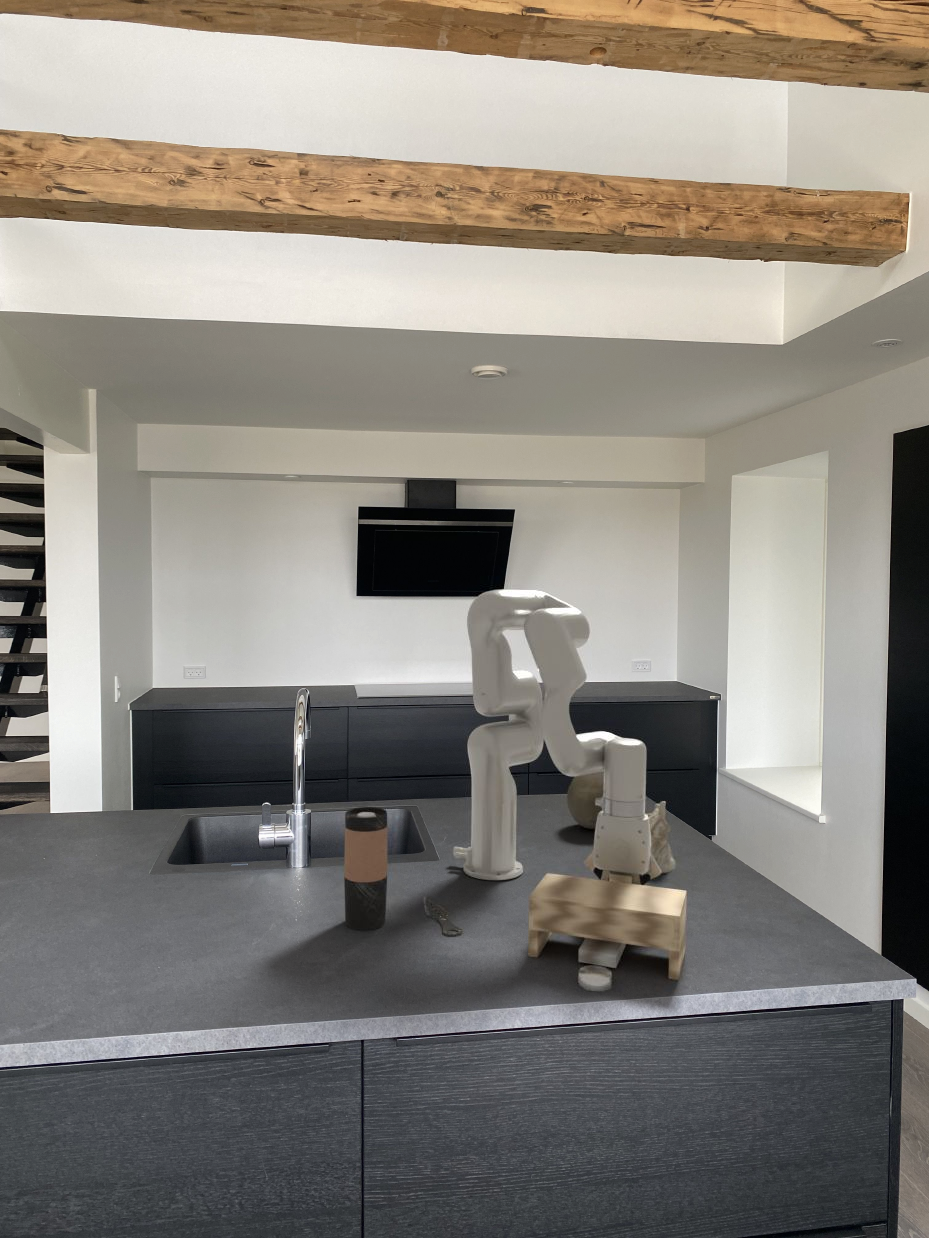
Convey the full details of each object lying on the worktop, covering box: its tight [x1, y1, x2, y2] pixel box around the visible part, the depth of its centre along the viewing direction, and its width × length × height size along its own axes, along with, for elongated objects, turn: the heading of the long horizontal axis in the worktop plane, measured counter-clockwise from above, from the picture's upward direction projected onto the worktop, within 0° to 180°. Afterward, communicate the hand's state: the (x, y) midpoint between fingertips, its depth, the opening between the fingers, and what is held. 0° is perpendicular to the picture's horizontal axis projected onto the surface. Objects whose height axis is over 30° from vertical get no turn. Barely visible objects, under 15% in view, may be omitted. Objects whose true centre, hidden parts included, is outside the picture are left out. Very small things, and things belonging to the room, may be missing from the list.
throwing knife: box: [423, 896, 463, 937], centre depth 158 cm, size 4×20×1 cm, turn 18°
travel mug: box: [343, 806, 388, 931], centre depth 153 cm, size 8×8×20 cm
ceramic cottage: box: [644, 800, 677, 874], centre depth 189 cm, size 16×16×15 cm
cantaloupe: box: [566, 771, 604, 830], centre depth 215 cm, size 14×14×15 cm
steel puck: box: [577, 964, 613, 993], centre depth 131 cm, size 5×5×2 cm
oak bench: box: [527, 872, 688, 981], centre depth 142 cm, size 24×12×10 cm, turn 71°
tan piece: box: [578, 871, 634, 969], centre depth 147 cm, size 6×24×8 cm, turn 160°
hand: (621, 904), depth 157 cm, fingers closed on tan piece, 4 cm apart
